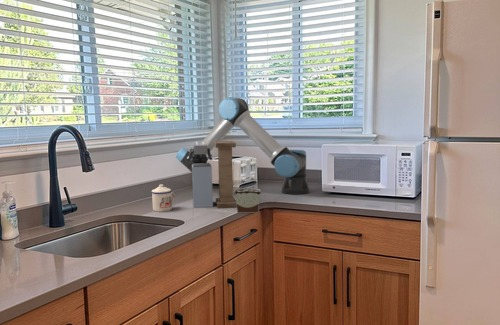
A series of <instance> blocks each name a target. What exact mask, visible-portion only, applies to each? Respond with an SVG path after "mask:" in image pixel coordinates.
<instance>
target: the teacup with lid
mask: <svg viewBox="0 0 500 325" xmlns="http://www.w3.org/2000/svg"><path fill="white" fill-rule="evenodd" d="M151 195H152V196H151V197H152V198H151V199H152V200H151V201H152V210H153V212H159V213H160V212H168V211H171V210H172V209H173V206H172V204H173V202H174V201H175V199H176V196H175V195H176V194H175V192H173V191H172V189H171V188H168V187H166V186H165V185H164V184H159V185H158V187H156V188H154V189H152V190H151Z"/></svg>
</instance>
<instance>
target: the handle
mask: <svg viewBox="0 0 500 325" xmlns="http://www.w3.org/2000/svg"><path fill="white" fill-rule="evenodd" d="M193 149H194V154H208V153H207V144H205V145H199V144H198V145H196V144H194V145H193Z"/></svg>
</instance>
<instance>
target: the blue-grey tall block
mask: <svg viewBox="0 0 500 325" xmlns="http://www.w3.org/2000/svg"><path fill="white" fill-rule="evenodd" d="M191 175H192V176H191V178H192V201H193V202H192V204H193V206H192V207H193V209H194V208H210V207H211V208H213V207H214V204H213V203H214V201H213V167H212V164H211V163H210V162H207V163H193V165H192V172H191Z"/></svg>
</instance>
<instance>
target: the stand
mask: <svg viewBox="0 0 500 325" xmlns="http://www.w3.org/2000/svg"><path fill="white" fill-rule="evenodd" d="M236 145H237V144H236V142H235V141H233V140H225V141H224V140H221V141H216V142H214V146H215V147H214V148H216V149H217V158H218V159H217V160H218V162H217V163H218V198H217V197H216V198H215V204H216V207H217V209H229V208H230V209H231V208H237V206H236V198H235V197H234V180H233V178H234V177H233V174H234V173H233V171H234V170H233V148H236V147H237V146H236Z"/></svg>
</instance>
